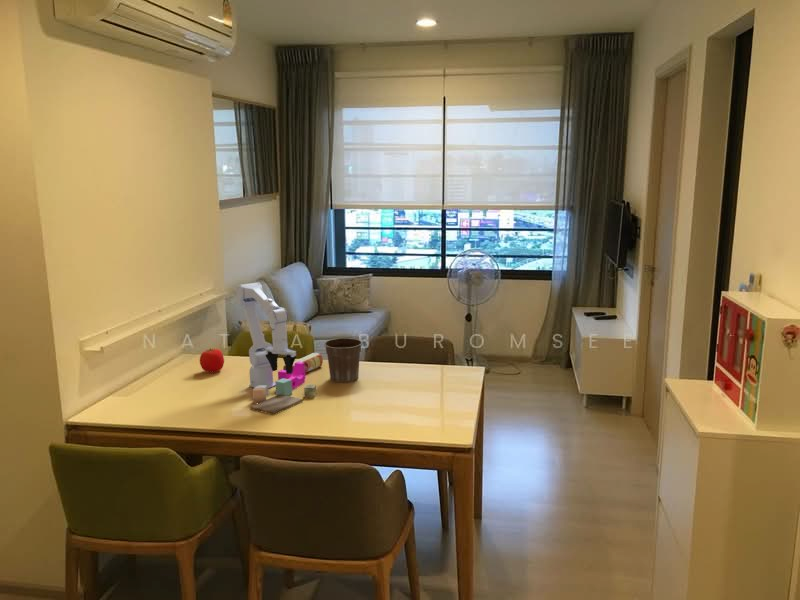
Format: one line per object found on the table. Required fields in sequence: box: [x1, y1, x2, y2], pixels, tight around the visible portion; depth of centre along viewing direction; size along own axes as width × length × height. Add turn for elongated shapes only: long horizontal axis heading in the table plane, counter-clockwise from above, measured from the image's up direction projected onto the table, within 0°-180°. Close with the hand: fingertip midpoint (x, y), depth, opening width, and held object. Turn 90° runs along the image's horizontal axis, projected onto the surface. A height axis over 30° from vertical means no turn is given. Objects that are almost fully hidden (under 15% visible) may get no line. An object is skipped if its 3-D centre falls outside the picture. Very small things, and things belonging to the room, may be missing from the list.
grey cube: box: [254, 385, 269, 397], centre depth 255 cm, size 4×4×4 cm
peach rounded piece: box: [252, 387, 267, 404], centre depth 249 cm, size 5×5×5 cm
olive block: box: [303, 384, 317, 398], centre depth 254 cm, size 4×4×4 cm
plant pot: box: [324, 337, 363, 383], centre depth 274 cm, size 16×16×16 cm
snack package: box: [282, 352, 324, 375], centre depth 286 cm, size 21×7×7 cm, turn 149°
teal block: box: [274, 378, 293, 396], centre depth 256 cm, size 4×4×6 cm
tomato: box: [199, 348, 225, 373], centre depth 289 cm, size 10×11×11 cm
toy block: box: [277, 362, 306, 390], centre depth 269 cm, size 15×6×8 cm, turn 157°
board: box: [250, 394, 304, 415], centre depth 244 cm, size 12×16×1 cm
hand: (281, 371), depth 254 cm, fingers open, 7 cm apart
